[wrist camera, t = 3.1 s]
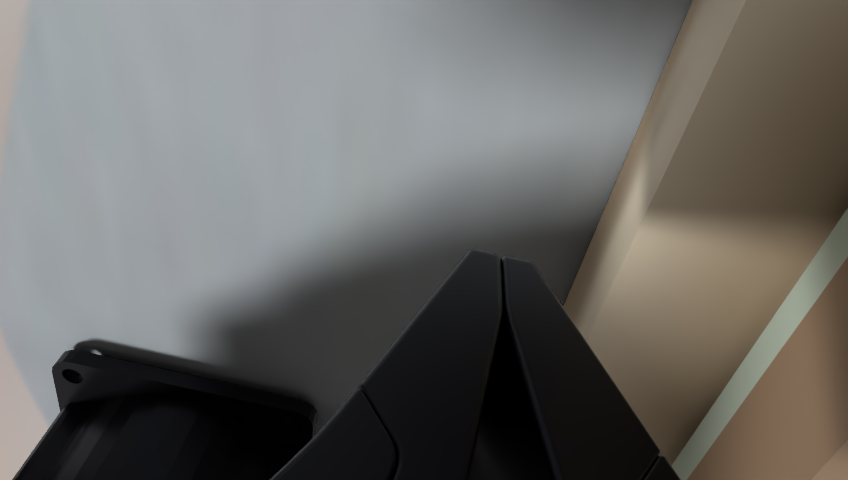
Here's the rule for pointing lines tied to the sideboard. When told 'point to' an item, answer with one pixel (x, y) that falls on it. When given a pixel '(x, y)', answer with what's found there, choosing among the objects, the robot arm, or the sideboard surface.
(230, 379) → the sideboard surface
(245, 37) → the sideboard surface
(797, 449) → the cover
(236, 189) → the sideboard surface
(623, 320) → the puzzle board
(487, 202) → the sideboard surface
